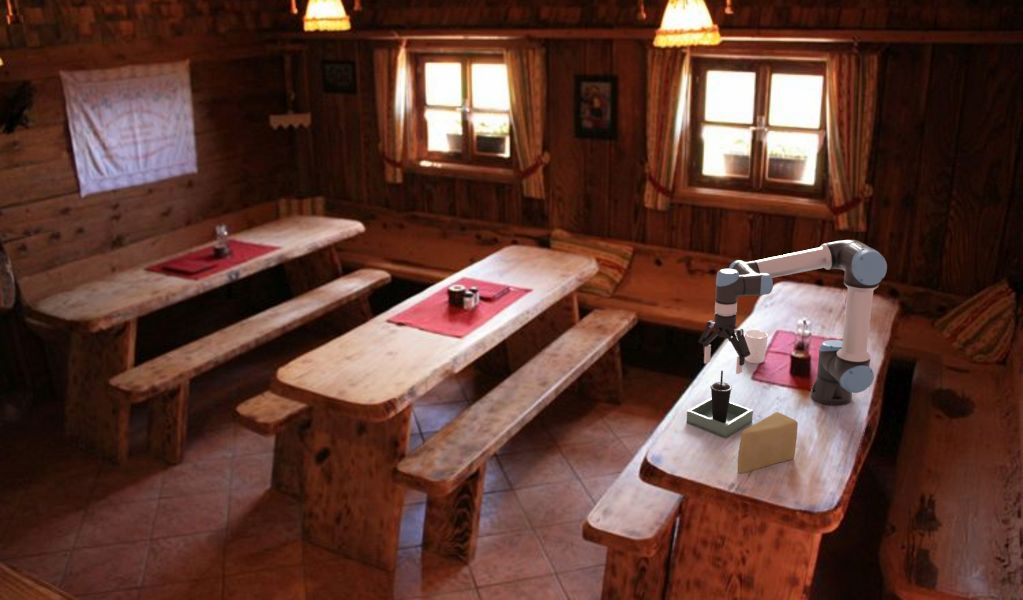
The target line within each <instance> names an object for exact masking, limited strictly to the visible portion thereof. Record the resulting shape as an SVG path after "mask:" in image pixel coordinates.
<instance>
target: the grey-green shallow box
mask: <svg viewBox="0 0 1023 600" xmlns="http://www.w3.org/2000/svg"><path fill="white" fill-rule="evenodd" d="M753 415H754V410H753V409H750V408H749V407H745V406H743V405H740V404H737V403H735V402H731V401H729V405H728V411H727V418H726V422H724V423H722V422H719V421H716V420H714V419H713V416H712V396H711V397H710V398H709V397H708V399H706V400H704V401H702V402H700V403H698V404H697V405H695V406H693V407H691V408H690V409H687V410H686V423H687V424H689V425H691V426H693V427H696V428H698V429H701V430H703V431H706V432H709V433H710V434H711V433H712V434H714V435H716V436H719V437H721V438H724V439H727V438H729V437H731V436H732V435H734V434H736V433H737V432H738V431H740V430H742V429H744V428H745V427H747V426H749V424H752V423H753Z"/></svg>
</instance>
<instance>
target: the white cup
mask: <svg viewBox="0 0 1023 600" xmlns="http://www.w3.org/2000/svg"><path fill="white" fill-rule="evenodd" d="M768 335H769V334H768V333H767V332H766V331H765V330H761V329H759V330H758V329H748V330H747V331H745V332H744V337H745V340H746V343H747V346H748V348H749V351H750V355H749V356H747V357H745V361H746V363H751V364H761V363H764V362H765V358H766V352H767V345H768V337H769V336H768Z"/></svg>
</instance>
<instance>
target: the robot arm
mask: <svg viewBox="0 0 1023 600" xmlns="http://www.w3.org/2000/svg"><path fill="white" fill-rule="evenodd" d="M823 268H824V269H825V270H828V271H829V270H834V269H837V270H842V271H844V277H843V285H845V287H847V292H846V301H845V302H846V303H845V314H844V320H843V321H844V323H843V330H842V331H843V332H842V340H841V339H830V340H825V341H822V342H821V343H820V345H819V349H818V361H817V371H816V372H817V373H816V374H817V375H816V378H815V380H814V382H813V384H812V386H811V389H810V394H809V395H810V398H811V399H812V400H813V401H815V402H817V403H819V404H822V405H826V406H832V407H834V406H835V407H838V406H846V405H848V404H850V403H851V402H852V399H853V398H852V397H853V394H858V393H861V392H864V391H866V390H867V389H868V388H870V386H872V384H873V382H874V379H875V373H874V371H873V369H872V368H871V367H870V365H871V354H870V353H869V352H868V351H867V350H868V342H869V333H870V324H871V316H872V306H873V298H874V290H876V289H877V288H879V286H880V282H881V281H882V280H883V279H884V278H885V276H886V274H887V271H888V270H887V269H888V264H887V261H886V259H885V257H884V256H883V254H881V253H880V252H879V251H878V250H876V249H874V248H872V247H869V246H868V245H867V244H865V243H864V242H862V241H859V240H856V239H844V240H836V241H832V242H826V243H822V244H821V245H820V246H819V247H815V248H810V249H806V250H800V251H796V252H795V251H794V252H791V253H786V254H783V255H782V254H781V255H777V256H771V257H767V258H762V259H757V260H752V261H751V260H750V261H743V260H739V259H738V260H735V261H733V262H731V264H729V267H728V268H722V269H720V270H718V271H717V273H716V279H715V300H714V301H715V303H714V320H713V319H711V320H709V321H707V322H706V325H705V326H706V327H705V328H704V330H703V331H702V334H701V336H700V337H699V340H698V343H699V344H701V345H702V354H704V357H703V363H704V364H708V363H710V362H711V351H712V348H711V347H712V344H710V343H711V342H713V341H714V339H716V338H717V337H719V338H724V339H725V340H726V339H727V340H728V342H730V343H731V345H732V347H733V348H734V350H735V351H736V354H737V355H738V356H736V368H735V374H736V375H739V374H741V373H743V366H744V365H745V361H746V360H745V357H747V356H749V355H750V351H749V348H748V346H747V343H746V340H745V332H744V331H745V330H744V329H743V328H737V327H736V324H737V312H738V297H747V296H748V297H751V296H752V297H753V296H765V295H770V294H771V293H772V291H773V286H774V284H773V283H774V282H773V279H774V278H778V277H783V276H788V275H793V274H794V275H795V274H799V273H804V272H808V271H809V272H810V271H814V270H818V269H823ZM713 328H714V330H715V331H714V332H712V334H711V335H710V336H709V334H710V333H711V331H712V329H713ZM708 336H709V337H708Z"/></svg>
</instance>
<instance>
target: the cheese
mask: <svg viewBox="0 0 1023 600" xmlns="http://www.w3.org/2000/svg"><path fill="white" fill-rule="evenodd" d="M798 424H799V423H798V421H797V420H795V418H792V417H789V416H787V415H785V414H783V413H781V412H778V411H775V412H774V413H772V414H771V415H768V416H767V417H765V418H763V419H761V420H759V421H758V422H756V423H754V424H753V425H751V426H749V427H747V428H746V429H744V430H742V431H741V433H740V441H739V448H738V456H737V473H740V474H744V473H747V472H751V471H754V470H757V469H761V468H764V467H768V466H772V465H775V464H778V463H782V462H787V461H791V460H793V459H795V454H796V453H795V452H796V447H797V438H798V437H797V436H798V428H799V427H798V426H799V425H798Z"/></svg>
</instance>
